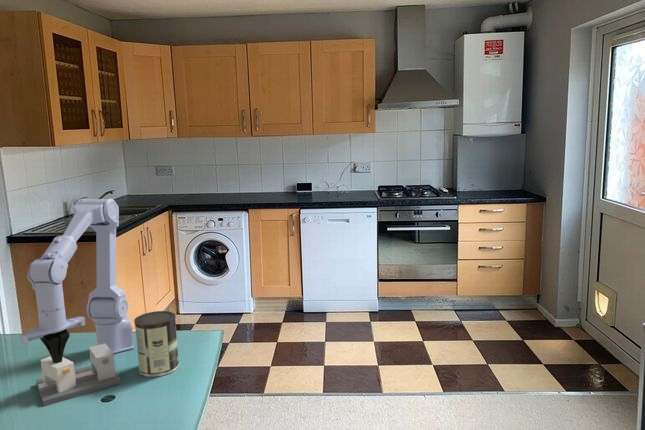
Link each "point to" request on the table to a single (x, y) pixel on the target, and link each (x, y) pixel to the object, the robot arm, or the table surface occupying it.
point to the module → (59, 373)
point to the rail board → (84, 377)
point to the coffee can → (156, 343)
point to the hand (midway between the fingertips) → (57, 361)
